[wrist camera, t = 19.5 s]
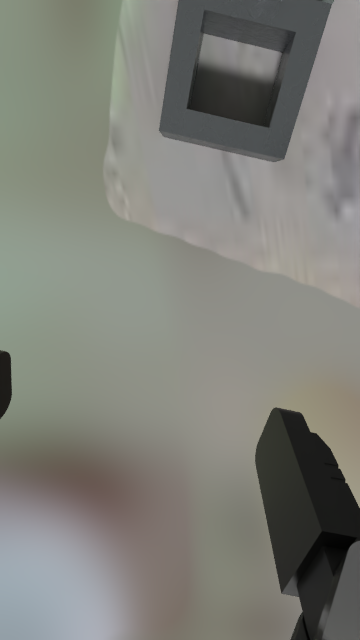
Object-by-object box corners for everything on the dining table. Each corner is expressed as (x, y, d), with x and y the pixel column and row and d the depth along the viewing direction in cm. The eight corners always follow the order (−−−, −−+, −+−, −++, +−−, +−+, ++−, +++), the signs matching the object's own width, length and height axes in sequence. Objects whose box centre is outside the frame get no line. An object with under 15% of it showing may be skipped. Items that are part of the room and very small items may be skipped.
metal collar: (313, 28, 33) (331, 3, 28) (273, 162, 38) (284, 159, 34) (185, -3, 32) (183, -33, 28) (163, 136, 38) (159, 130, 33)
